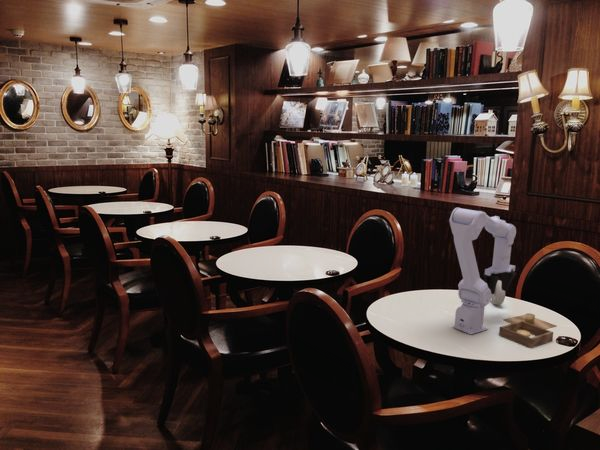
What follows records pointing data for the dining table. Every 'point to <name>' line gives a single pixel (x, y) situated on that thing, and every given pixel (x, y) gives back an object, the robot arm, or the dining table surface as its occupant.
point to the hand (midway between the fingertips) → (497, 291)
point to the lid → (530, 321)
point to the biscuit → (524, 332)
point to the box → (511, 334)
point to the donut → (498, 294)
